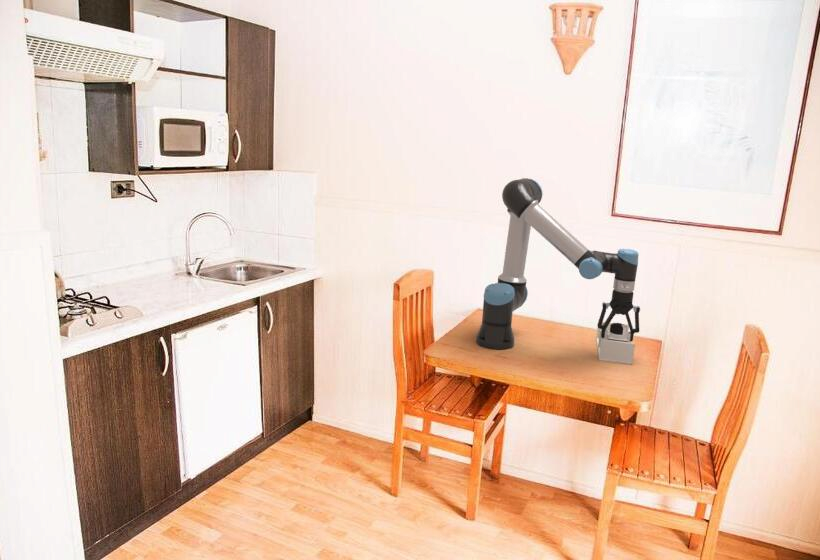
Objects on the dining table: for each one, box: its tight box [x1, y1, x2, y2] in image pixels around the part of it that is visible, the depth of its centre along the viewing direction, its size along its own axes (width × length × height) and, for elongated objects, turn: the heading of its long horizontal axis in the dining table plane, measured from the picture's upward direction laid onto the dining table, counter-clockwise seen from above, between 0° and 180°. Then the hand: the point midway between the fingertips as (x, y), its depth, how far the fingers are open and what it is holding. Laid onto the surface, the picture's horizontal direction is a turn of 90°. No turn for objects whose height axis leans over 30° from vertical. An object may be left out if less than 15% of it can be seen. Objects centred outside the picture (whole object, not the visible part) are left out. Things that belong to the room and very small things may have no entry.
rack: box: [595, 321, 636, 365], centre depth 245 cm, size 12×25×8 cm, turn 166°
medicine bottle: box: [606, 322, 628, 342], centre depth 239 cm, size 7×7×12 cm
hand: (615, 347), depth 240 cm, fingers open, 8 cm apart
